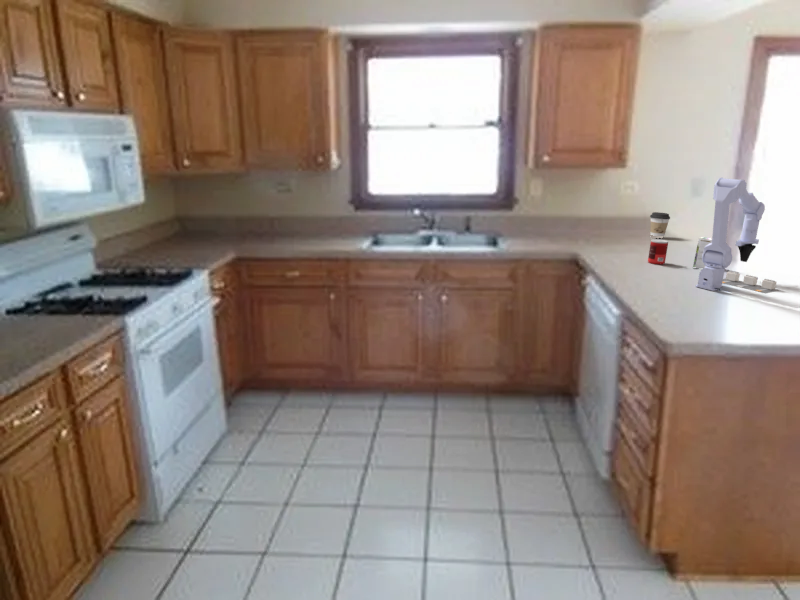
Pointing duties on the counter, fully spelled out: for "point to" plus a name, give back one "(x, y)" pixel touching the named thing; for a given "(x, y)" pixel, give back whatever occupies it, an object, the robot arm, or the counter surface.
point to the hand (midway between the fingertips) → (743, 261)
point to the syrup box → (701, 251)
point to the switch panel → (748, 286)
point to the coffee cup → (659, 223)
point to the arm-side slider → (732, 276)
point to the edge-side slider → (768, 284)
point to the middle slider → (750, 280)
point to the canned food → (657, 251)
